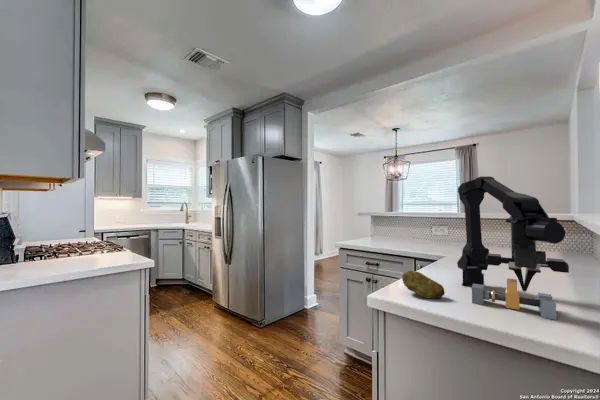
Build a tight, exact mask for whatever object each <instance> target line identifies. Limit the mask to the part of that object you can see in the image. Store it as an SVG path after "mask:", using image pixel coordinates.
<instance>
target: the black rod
mask: <svg viewBox="0 0 600 400" xmlns="http://www.w3.org/2000/svg"><path fill="white" fill-rule="evenodd" d="M489 300H492V299H491V292H490V291H489ZM495 301H502V302H506V295H505V294H502V293H497V292H495ZM519 305H526V306H533V307H536V308H538V307H540V300H538V298H531V297H524V296H519Z"/></svg>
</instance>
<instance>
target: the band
mask: <svg viewBox="0 0 600 400" xmlns="http://www.w3.org/2000/svg"><path fill="white" fill-rule="evenodd" d="M495 293H496V292H495V290H491V299H490V300H491V302H493V303H496V300H495Z"/></svg>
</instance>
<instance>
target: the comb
mask: <svg viewBox="0 0 600 400" xmlns="http://www.w3.org/2000/svg"><path fill="white" fill-rule="evenodd" d="M537 299H538V300H540V307H537V309H538V311H539V314H540V317H541V318H545V319H548V320H549V319H550V320H555V321H557V305H556V304H557V303H556V301H555V299H553V296H552V294H551V293H544V292H540V291H539V292H537Z"/></svg>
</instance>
